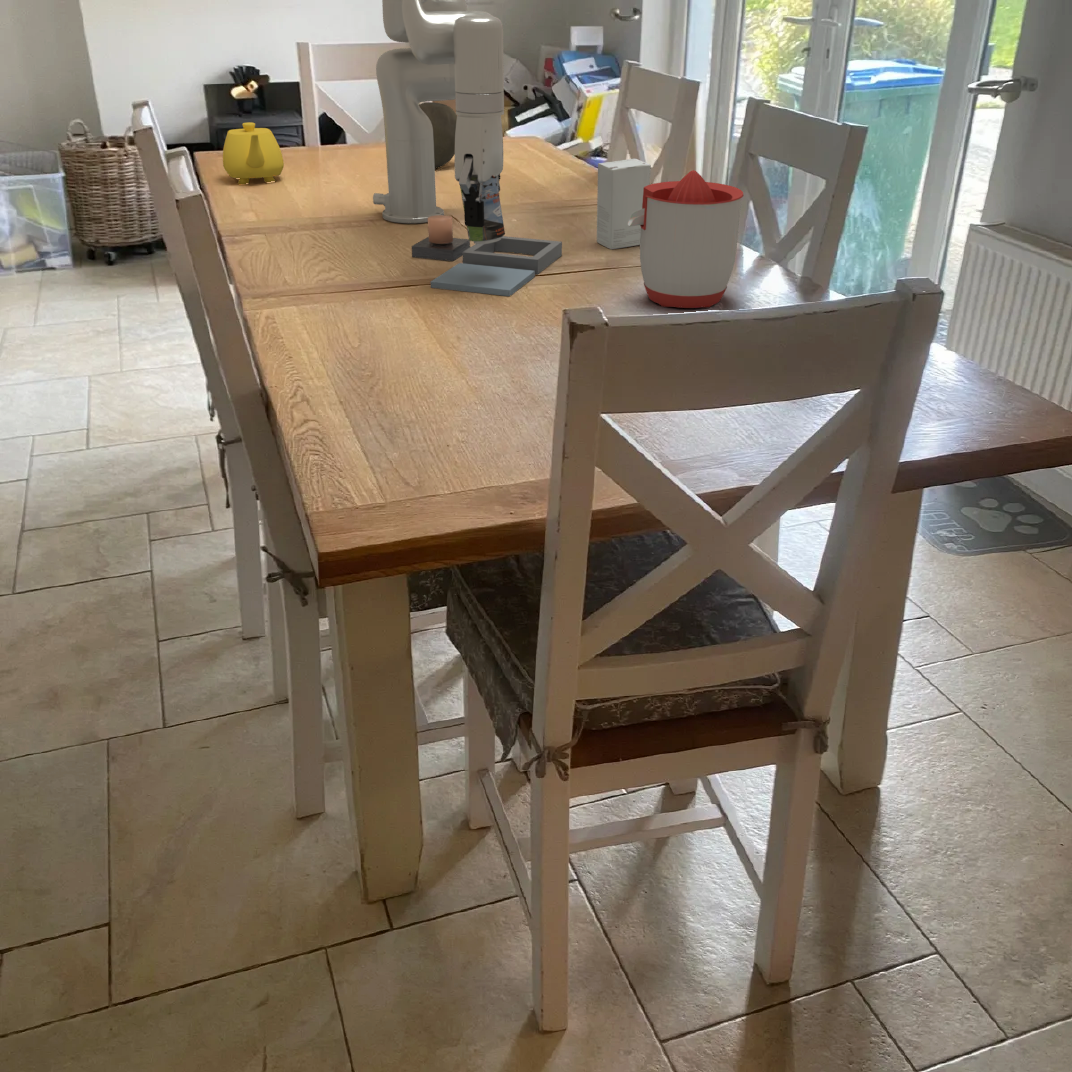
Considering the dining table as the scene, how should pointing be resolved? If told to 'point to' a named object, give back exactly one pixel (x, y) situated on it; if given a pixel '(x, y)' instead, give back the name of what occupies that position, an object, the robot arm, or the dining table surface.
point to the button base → (440, 249)
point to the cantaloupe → (441, 130)
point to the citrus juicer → (688, 240)
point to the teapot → (252, 154)
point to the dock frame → (541, 250)
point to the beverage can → (488, 214)
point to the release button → (440, 229)
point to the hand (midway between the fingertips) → (482, 220)
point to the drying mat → (483, 279)
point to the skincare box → (620, 201)
